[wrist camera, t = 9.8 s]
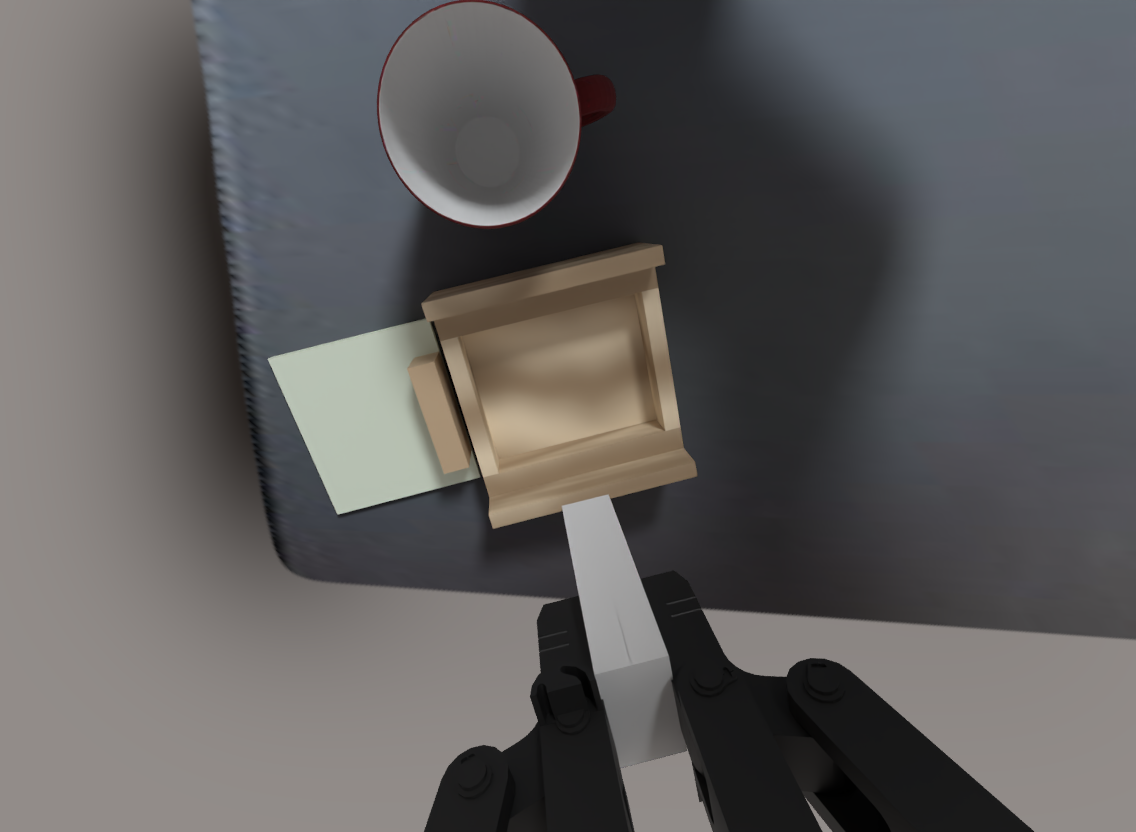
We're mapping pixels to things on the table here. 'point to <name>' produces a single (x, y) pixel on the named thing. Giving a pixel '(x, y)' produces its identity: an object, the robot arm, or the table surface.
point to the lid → (378, 415)
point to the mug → (483, 113)
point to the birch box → (565, 381)
